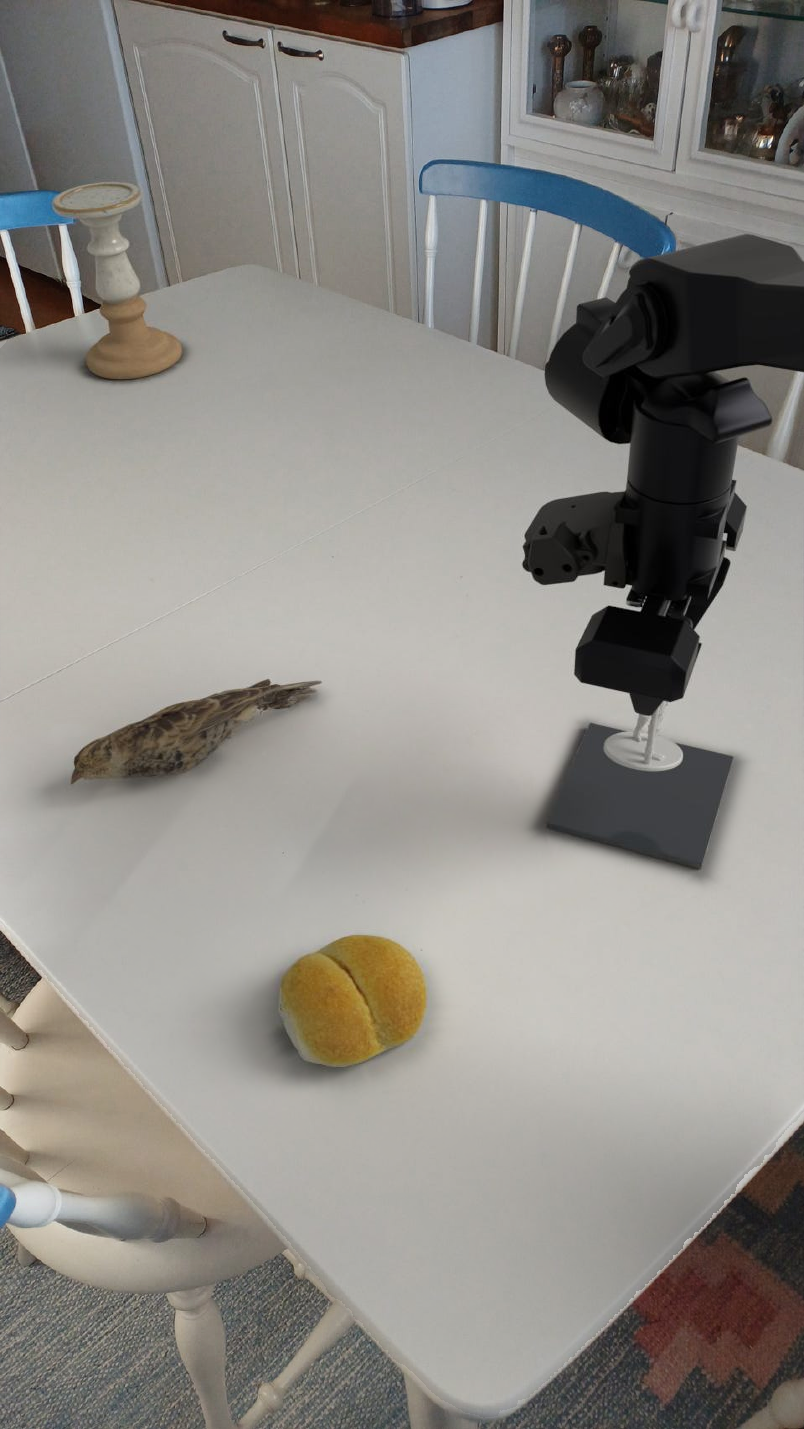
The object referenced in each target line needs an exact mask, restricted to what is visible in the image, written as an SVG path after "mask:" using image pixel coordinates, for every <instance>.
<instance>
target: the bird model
mask: <svg viewBox="0 0 804 1429" xmlns="http://www.w3.org/2000/svg"><path fill="white" fill-rule="evenodd" d="M271 683H272V682H271V680H270V678H267V679H263V680H260V681H259V682H257V683H255V684H253V685H250V686H247V687H245V688H233V689H227V690H223V691H220V692H217V693H213V694H211V695H208V696H205V697H202V698H200V699H194V700H193V699H192V700H187V701H182V702H178V703H174V704H171V705H168V706H166V707H164V708H162V709H160V710H159V711H156V712H155V713H154V714H152V715H150V716H148V717H146V718H143V719H142V720H139V721H136V722H132V723H130V724H127V725H125V726H123V727H121V728H119V729H117V730H115V731H113V732H111V733H109V734H107V735H105V736H103V737H100V738H96V739H95V740H92V741H91V742H89V743H88V744H86V745H85V746H83V747H82V748H81V749H80V751H79V752H78V753H77V754H76V755H75V756H74V759H73V766H74V769H73V771H72V775H71V779H70V783H69V784H70V786H71V785H72V786H73V785H74V783H77V781H79V780H80V779H84V780H86V781H88V780H101V779H102V780H103V779H131V778H133V779H134V778H154V777H164V776H167V775H174V774H176V773H178V774H184V773H187V772H188V771H190V770H191V769H192V768H195V767H196V766H199V764H201V763H202V762H203V761H206V759H207V758H208V757H209V756H210V755H212V753H213V752H214V751H216V750H217V749H218V748H219V747H220V746H221V745H222V744H223V743H224V742H225V741H226V740H228V739H231V738H232V737H233V736H234V734H235V733H236V730H237V729H238V728H239V726H241V724H242V723H245V724H246V723H248V722H250V721H252V720H253V719H254V717H255V714H257V710H262V711H260V712H259V714H260V715H262V714H263V713H265V712H267V711H271V710H283V709H289V708H291V707H292V706H293V705H294V704H298V703H299V702H300V701H302V700H303V699H304V698H305V697H310V696H311V694H314V693H317V692H318V691H317V690H318V689H316V688H312V687H313V686H317V685H320V684H322V683H323V681H322V680H311V681H301V682H295V683H288V684H278V683H273V684H271ZM294 699H296V700H294ZM292 700H294V701H292Z"/></svg>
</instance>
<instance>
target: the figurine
mask: <svg viewBox="0 0 804 1429" xmlns="http://www.w3.org/2000/svg"><path fill="white" fill-rule="evenodd" d="M670 602H671V601H669V604H668V605H667V608H666V610H665V613H664V615H663V616H665V615H666V612H667V609H669V605H670ZM668 704H669V702H667V701H663V702H662V703H661V705H660V706H659V707H658V708H657V710H656V711H655V712H654V713H653V715H651V716H646V715H642V714H638V716H637V717H638V718H637V722H636V726H635V728H634V730H627V731H628V732H621V733H617V734H614V735H612V736H610V737H609V738H607V739H606V741H605V742H604V752H605V754H606V755H607V756H608V757H609V758H610V759H611V760H613V761H614V762H616V763H618V764H620V765H623V766H625V767H628V768H632V769H636V770H643V771H664V770H669V769H672V768H675V767H676V766H678V765H679V764H680V763H681V762H682V759H683V752H682V750H681V749H680V747H679V746H678V745H677V744H676V743H677V742H675V741H673V740H671V739H669V738H667V737H665V736H662V735H659V733H660V729H661V725H662V722H663V720H664V714H665V709H666V707H667V706H668ZM649 720H650V721H649ZM648 721H649V723H648ZM647 723H648V725H647V732H646V731H642V730H643V729H644V727H645V726H646V724H647ZM674 742H675V743H674Z"/></svg>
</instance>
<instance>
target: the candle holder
mask: <svg viewBox="0 0 804 1429" xmlns="http://www.w3.org/2000/svg"><path fill="white" fill-rule="evenodd" d="M142 197H143V194H142V191H141V189H140V188H139V186H137V185H135V184H133V183H129V182H123V181H102V182H93V183H87V184H82V185H78V186H74V187H71V188H68V189H67V190H64V191H62V192H60V193H58V194H56V196H54V197H53V198H52V201H51V206H52V210H53V211H54V213H55V214H56V215H58V216H60V217H63V218H66V219H67V218H68V219H73V220H79V221H80V223H81V224H82V225H84V226H86V228H87V229H88V231H89V233H90V239H91V240H90V241H89V243H88V244H87V246H86V249H87V252H88V253H89V255H92V256H93V257H94V262H95V281H94V282H95V286H94V287H95V293H96V294H97V296H99V297H100V298H101V299H102V302H101V305H100V307H99V314H100V315H101V317H103V318H104V319H105V320H107V323H108V329H109V330H108V331H109V332H108V333H107V334H105V335H103V336H102V337H100V339H99V340H98V341H97V342H96V343H95V344H93V345H92V346H91V347H90V348H89V349H88V351H87V353H86V356H85V362H86V366H87V367H88V369H89V371H90V372H91V373H93V375H95V376H98V377H101V378H104V379H109V380H110V379H111V380H133V379H139V378H145V377H149V376H153V375H155V374H158V373H161V372H163V371H165V370H167V369H169V368H171V367H172V366H173V365H175V364H176V363H177V362H178V361H179V360H180V358H181V357H182V353H183V348H182V343H181V341H180V340H179V338H177V337H176V336H175V335H173V334H172V333H170V332H167V331H163V330H161V329H159V328H157V327H153V326H147V323H146V320H145V317H144V314H145V311H146V309H147V307H148V306H147V302H146V301H145V299H144V298H142V297H141V296H139V295H138V294H139V292H140V290H141V280H140V278H139V277H138V275H137V273H136V272H135V270H134V268H133V266H132V264H131V261H130V260H129V256H128V254H127V250H128V249H129V247H130V241H129V240H128V239H127V238H126V237H124V236H123V235H122V234H121V232H120V224H119V223H120V221H121V220H122V218H123V214H124V213H125V212H127V211H129V210H131V209H133V208H135V207H136V206H138V205H139V204H140V203H141V201H142V199H143V198H142Z"/></svg>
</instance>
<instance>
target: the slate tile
mask: <svg viewBox="0 0 804 1429" xmlns="http://www.w3.org/2000/svg"><path fill="white" fill-rule="evenodd" d="M628 731H629V730H623V729H618V728H615V727H610V726H607V725H602V724H598V723H594V722H589V724H588V725H587V728H586V730H585V733H584V735H583V737H582V739H581V742H580V744H579V746H578V749H577V751H576V753H575V756H574V758H573V760H572V762H571V764H570V767H569V769H568V771H567V774H566V776H565V778H564V781H563V782H562V785H561V787H560V790H559V792H558V794H557V797H556V798H555V801H554V803H553V806H552V807H551V810H550V811H549V812H550V813H549V815H548V817H547V819H546V822H545V828H548V829H551V830H554V831H558V832H562V833H566V834H569V835H572V836H577V837H581V838H584V839H588V840H591V841H595V842H598V843H602V844H606V845H610V846H613V847H617V848H621V849H625V850H629V851H632V852H636V853H639V854H642V855H646V856H651V857H653V858H657V859H661V860H665V861H668V862H673V863H676V864H680V865H683V866H687V867H691V868H693V869H694V868H695V869H697V870H702V868H703V865H704V862H705V859H706V858H705V857H706V855H707V852H708V848H709V845H710V842H711V838H712V834H713V831H714V828H715V824H716V821H717V819H718V818H717V817H718V814H719V810H720V807H721V803H722V801H723V797H724V793H725V790H726V786H727V783H728V780H729V776H730V774H731V773H730V772H731V769H732V766H733V763H734V756H733V755H730V754H725V753H721V752H717V751H712V750H708V749H704V748H700V747H696V746H691V745H687V744H683V743H678V742H675V741H673V742H674V743H676V744H677V745H678V746H679V747H680V749H681V750H682V752H683V759H682V762H681V763H680V764H679V765H678V766H676V767H675V768H672V769H669V770H664V771H643V770H636V769H632V768H628V767H625V766H623V765H620V764H618V763H616V762H614V761H613V760H611V759H610V758H609V757H608V756H607V755H606V754H605V752H604V742H605V741H606V739H607V738H609V737H610V736H612V735H614V734H617V733H621V732H628Z"/></svg>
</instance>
